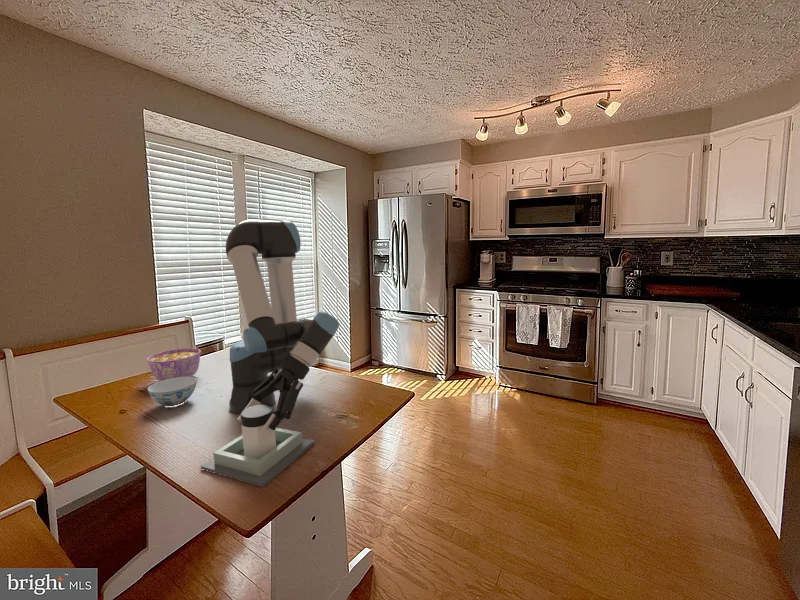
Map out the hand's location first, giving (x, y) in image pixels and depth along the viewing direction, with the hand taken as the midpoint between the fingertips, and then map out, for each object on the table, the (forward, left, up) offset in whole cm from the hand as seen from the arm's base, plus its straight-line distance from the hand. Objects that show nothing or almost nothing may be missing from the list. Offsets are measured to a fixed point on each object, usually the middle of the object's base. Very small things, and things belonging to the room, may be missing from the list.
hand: (250, 430), depth 96 cm
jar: (+1, +2, -7) cm, 7 cm away
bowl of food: (-77, +36, -8) cm, 86 cm away
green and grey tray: (+1, +2, -8) cm, 8 cm away
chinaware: (-54, +18, -8) cm, 58 cm away
